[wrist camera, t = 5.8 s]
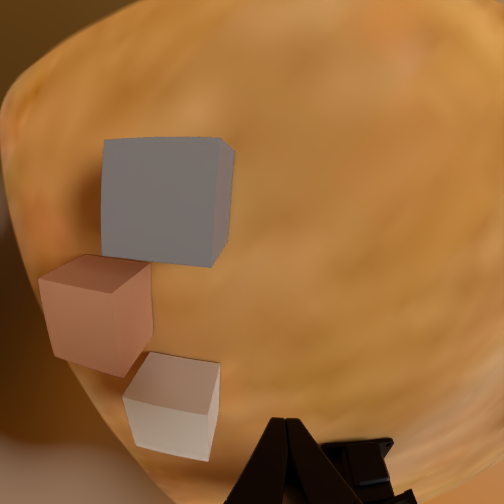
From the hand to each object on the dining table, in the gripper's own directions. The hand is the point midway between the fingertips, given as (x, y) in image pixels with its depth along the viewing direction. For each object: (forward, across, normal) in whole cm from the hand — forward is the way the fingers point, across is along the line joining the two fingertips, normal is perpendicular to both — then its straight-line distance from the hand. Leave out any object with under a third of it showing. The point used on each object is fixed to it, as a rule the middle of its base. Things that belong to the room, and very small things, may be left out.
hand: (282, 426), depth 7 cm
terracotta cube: (+8, +9, 0) cm, 12 cm away
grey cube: (+8, +5, -6) cm, 11 cm away
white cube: (+8, +5, +6) cm, 12 cm away
